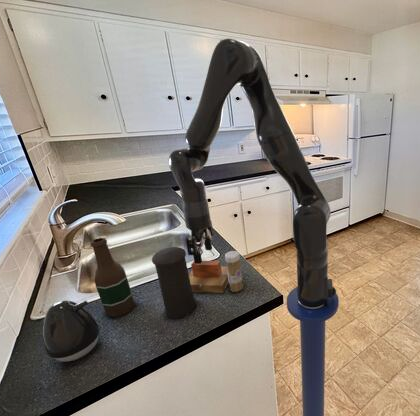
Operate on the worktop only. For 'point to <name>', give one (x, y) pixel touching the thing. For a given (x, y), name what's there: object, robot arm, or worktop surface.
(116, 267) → the beer bottle
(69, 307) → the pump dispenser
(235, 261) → the sprinkles bottle
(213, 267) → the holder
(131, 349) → the worktop surface
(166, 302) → the container
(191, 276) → the holder base
